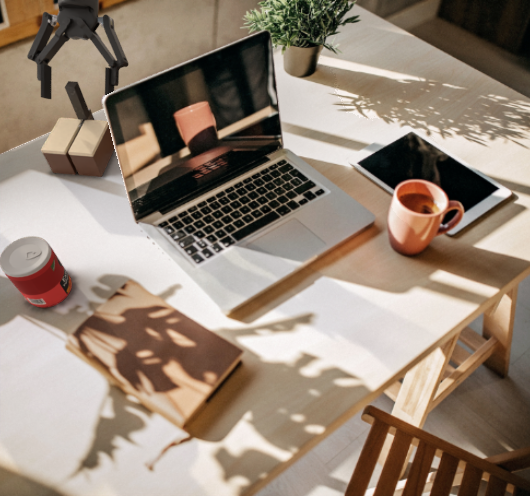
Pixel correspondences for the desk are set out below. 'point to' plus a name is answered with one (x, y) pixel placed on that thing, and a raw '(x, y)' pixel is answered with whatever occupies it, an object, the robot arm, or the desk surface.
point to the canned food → (36, 271)
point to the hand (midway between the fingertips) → (77, 100)
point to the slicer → (78, 102)
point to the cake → (79, 147)
